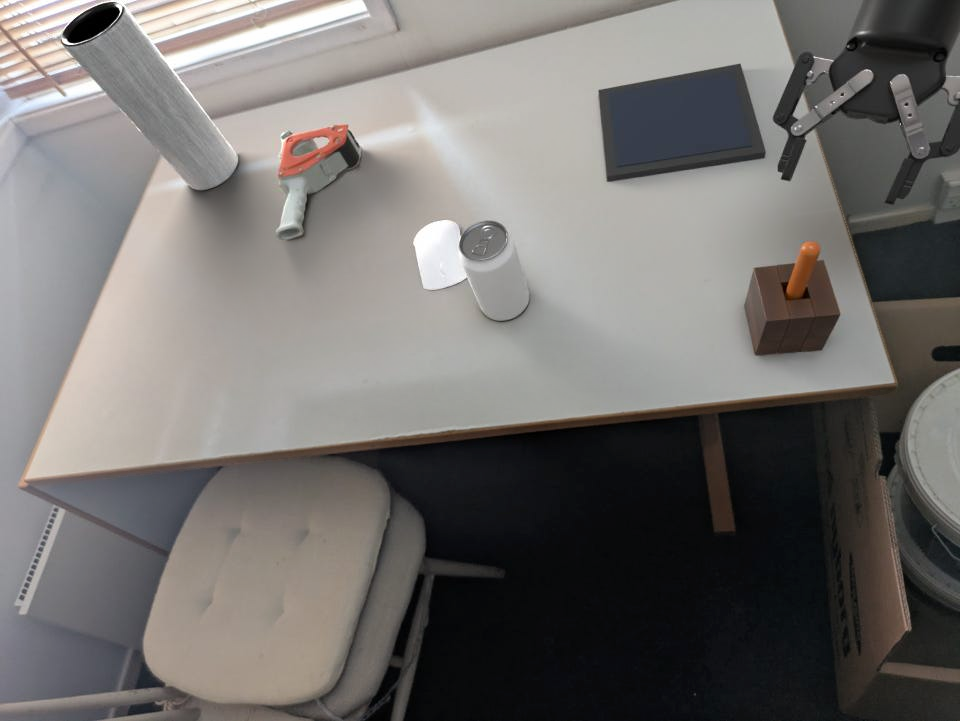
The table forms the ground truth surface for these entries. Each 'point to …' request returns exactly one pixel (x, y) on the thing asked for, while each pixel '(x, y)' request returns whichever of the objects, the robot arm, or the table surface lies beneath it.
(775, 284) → the pen holder
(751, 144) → the tablet
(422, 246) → the computer mouse
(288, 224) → the tape dispenser
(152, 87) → the vase
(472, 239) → the can
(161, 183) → the table surface
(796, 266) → the stylus
